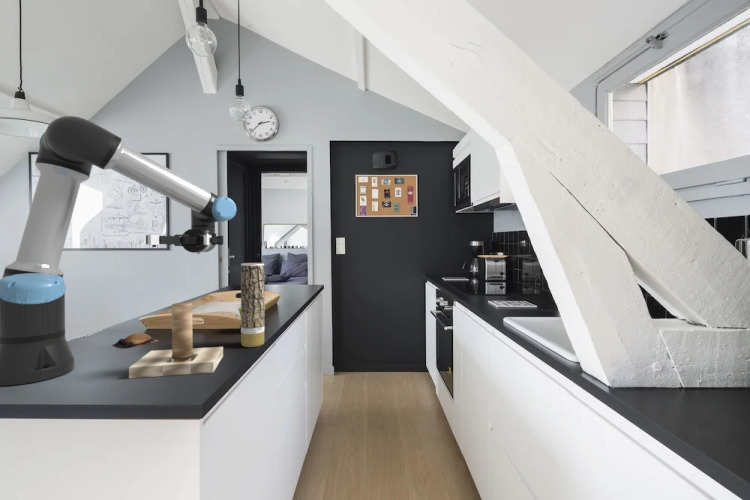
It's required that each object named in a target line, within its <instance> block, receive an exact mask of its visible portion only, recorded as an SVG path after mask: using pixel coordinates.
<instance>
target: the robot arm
mask: <svg viewBox="0 0 750 500" xmlns="http://www.w3.org/2000/svg"><path fill="white" fill-rule="evenodd" d="M38 145H39V149H38V153H37V155H36V160H35V162H34V163H35V164H34V165H35V167H36V168H37V170H38V171H39V173H40V174H39V176H38V180H37V184H36V188H35V192H34V193H33V194H34V196H33V198H32V202H31V205H30V209H29V212H28V216H27V220H26V223H25V227H24V231H23V233H22V237H21V241H20V244H19V247H18V251H17V254H16V258H15V261H13V262H12V263H10V264H8V265H6V266H5V267H4V271H3V275H2V278H1V279H0V386H3V387H5V386H17V385H25V384H32V383H37V382H41V381H46V380H50V379H51V380H52V379H54V378H57V377H60V376H63V375H66V374H68V373H70V372H72V371H73V370H75V357H74V355H73V352H72V350H71V348H70V346H69V343H68V341H67V339H66V305H65V303H66V298H65V297H66V289H67V287H66V284H65V279H64V272H63V271H62V270H61V269H60V267H59V265H60V262H61V258H62V254H63V250H64V248H65V244H66V239H67V235H68V231H69V228H70V224H71V220H72V217H73V213H74V209H75V206H76V205H75V204H76V202H77V199H78V194H79V190H80V186H81V183H83V182H86V181H88V180H89V179H90V176H91V172H92V168H93V166H95V167H97V168H98V169H101V170H102V171H103V170H105V171H106V170H112V171H114V172H115V173H118V174H120V175H122V176H124V177H126V178H128V179H131V180H132V181H135V182H136V183H138V184H140V185H142V186H144V187H146V188H148V189H150V190H152V191H155V192H157V193H158V194H160V195H162V196H164V197H167V198H169V199H171V200H173V201H174V202H177V203H179V204H181V205H183V206H184V207H186V208H189V209H190V221H191V223H190V224H191V225H190V228H189V229H187V230H185V232H183V234H174V235H159V234H147V235H145V244H146V245H148V246H149V245H150V246H152V247H151V248H156V247H157V246H159V245H169V246H171V245H174V246H175V247H182V248H183V249H184V250H185V251H187V252H189V253H196V254H197V255H200V254H201V253H208V252H211V251H212V250H214V249H215V248H216V246H218V245H220V246H223V245H224V236H223V235H219V236H217V233H216V222H217V223H218V222H220V223H221V222H223V223H224V222H226V221H230V220H232V219H233V218H234V217H235V216H236V213H237V205H236V203H235V202H234V200H233V199H231V198H230V197H227V196H226V197H225V196H219V195H217V194H216V193H213V192H212V191H210V190H208V189H206V188H204V187H202V186H200V185H199V184H196V183H195V182H194V181H191V180H190V179H188V178H187V177H184V176H182V175H180V174H179V173H177V172H175V171H173V170H171V169H170V168H168V167H166V166H165V165H163V164H160V163H159V162H157V161H155V160H154V159H152V158H150V157H148V156H146V155H144V154H142V153H141V152H139V151H137V150H135V149H133V148H132V147H130V146H128V145H126V144H125V142H124V139H123V138H121V137H120V136H118V135H116V134H114V133H113V132H111V131H109V130H108V129H106V128H103V127H102V126H100V125H99V124H96V123H94V122H92V121H91V120H88V119H86V118H84V117H83V118H82V117H80V116H72V115H66V116H65V115H64V116H61V117H58V118H55V119H54V120H52V121H51V122H50V123H49V124H48V126H47V127H46V129H45V131H44V132H43V134H42V135H41V136H40V139H39V144H38Z"/></svg>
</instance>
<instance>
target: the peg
mask: <svg viewBox="0 0 750 500" xmlns="http://www.w3.org/2000/svg"><path fill="white" fill-rule="evenodd" d="M171 334H172V335H171V350H172V359H174V362H186V361H191V357H192V356H193V345H194V344H193V341H194V340H193V337H194V336H193V334H194V333H193V302H176V303H172V304H171Z"/></svg>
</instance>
